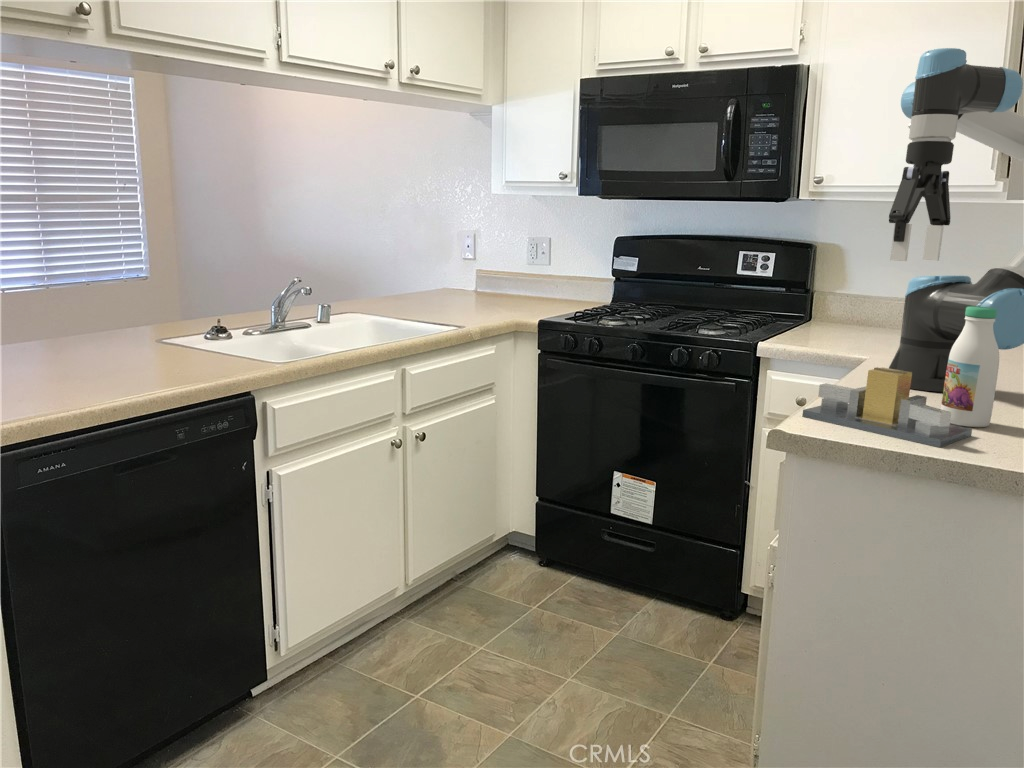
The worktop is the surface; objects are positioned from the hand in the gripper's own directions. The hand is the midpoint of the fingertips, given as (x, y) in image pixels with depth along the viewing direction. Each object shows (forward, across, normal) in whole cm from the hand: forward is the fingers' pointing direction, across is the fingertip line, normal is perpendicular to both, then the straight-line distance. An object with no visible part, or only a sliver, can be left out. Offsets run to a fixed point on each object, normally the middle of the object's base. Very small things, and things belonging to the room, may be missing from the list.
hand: (915, 260), depth 153 cm
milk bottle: (+27, +7, +15) cm, 32 cm away
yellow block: (+25, +22, +8) cm, 34 cm away
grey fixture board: (+27, +22, +8) cm, 36 cm away
